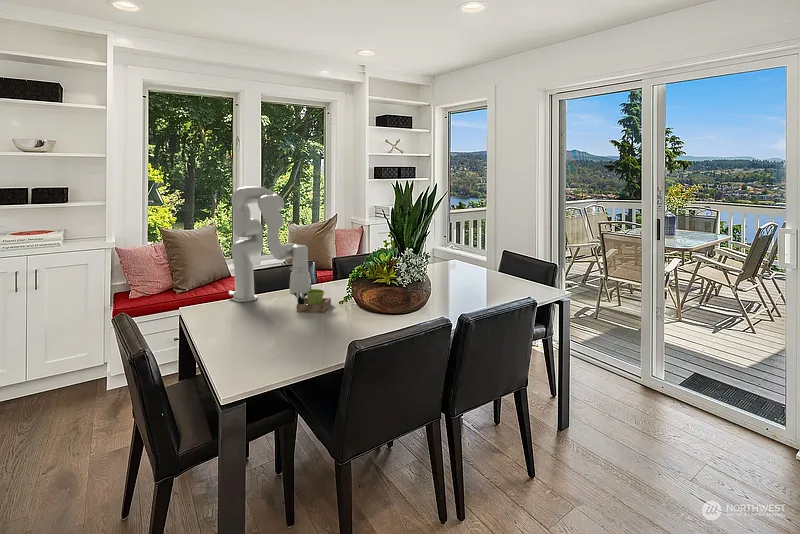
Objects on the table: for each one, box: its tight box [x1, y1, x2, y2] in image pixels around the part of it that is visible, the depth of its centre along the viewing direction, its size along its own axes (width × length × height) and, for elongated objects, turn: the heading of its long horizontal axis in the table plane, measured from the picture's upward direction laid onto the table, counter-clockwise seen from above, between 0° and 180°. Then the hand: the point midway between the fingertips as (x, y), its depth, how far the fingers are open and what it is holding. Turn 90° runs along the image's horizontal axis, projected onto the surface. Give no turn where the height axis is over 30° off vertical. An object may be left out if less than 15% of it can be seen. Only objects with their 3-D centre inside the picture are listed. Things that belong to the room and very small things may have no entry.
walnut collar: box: [296, 296, 332, 314], centre depth 242 cm, size 14×15×4 cm
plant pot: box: [306, 288, 326, 305], centre depth 242 cm, size 9×9×9 cm
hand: (301, 305), depth 243 cm, fingers closed
